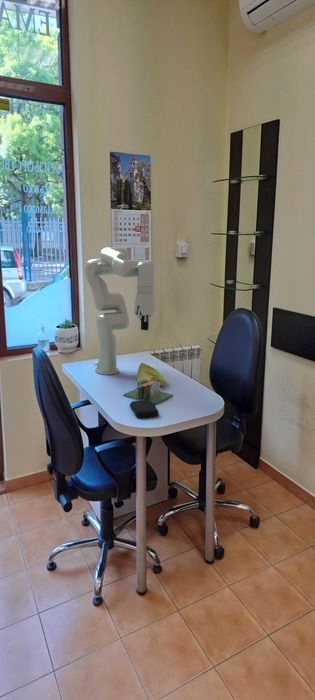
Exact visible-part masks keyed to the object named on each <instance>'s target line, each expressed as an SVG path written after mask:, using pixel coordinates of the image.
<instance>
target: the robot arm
mask: <svg viewBox="0 0 315 700" xmlns="http://www.w3.org/2000/svg"><path fill="white" fill-rule="evenodd" d="M129 258H130V257H129V252H128V250H127V249H126V248H125V247H118V246H117V247H116V246H115V247H112V246H111V247H110V246H108V247H104V248H103V249H102V250H101V251H100V253H99V258H93V259H89V260H88V261H86V263H85V266H84V274H85V277H86V280H87V282H88V285H89V286H90V289H91V293H92V298H93V302H94V305H95V308H96V310H97V311H98V312H103V313H100V314H98V316H97V317H96V327H97V333H98V334H97V335H98V336H97V337H98V339H97V340H98V343H97V345H98V361H97V360H96V361H94V363H93V366H96V368H95V372H96V373H97V374H100V375H106V376H108V375H115V374H119V372H120V368H119V367H117V346H118V344H117V342H118V341H117V337H116V335H115V334H114V331H122V330H126V329H128V328H129V326H130V318H129V313H128V309H127V306H126V302H125V298H124V296H123V295H122V294H121V293H119V292H110V291H109V287H108V285H107V283H106V281H105V280H104V279H103V278H102V277H101V276H115V275H117V276H119V277H122V278H136V279H137V284H136V290H137V291H136V294H135V299H134V315H136V319H139V320H140V330H142V331H148V330H149V323H150V320H151V319H150V318H151V317H152V316H153V315H154V313H155V293H154V291H155V263H153V262H151V261H145V260H134V259H133V260H129ZM113 311H114V312H113Z"/></svg>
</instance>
